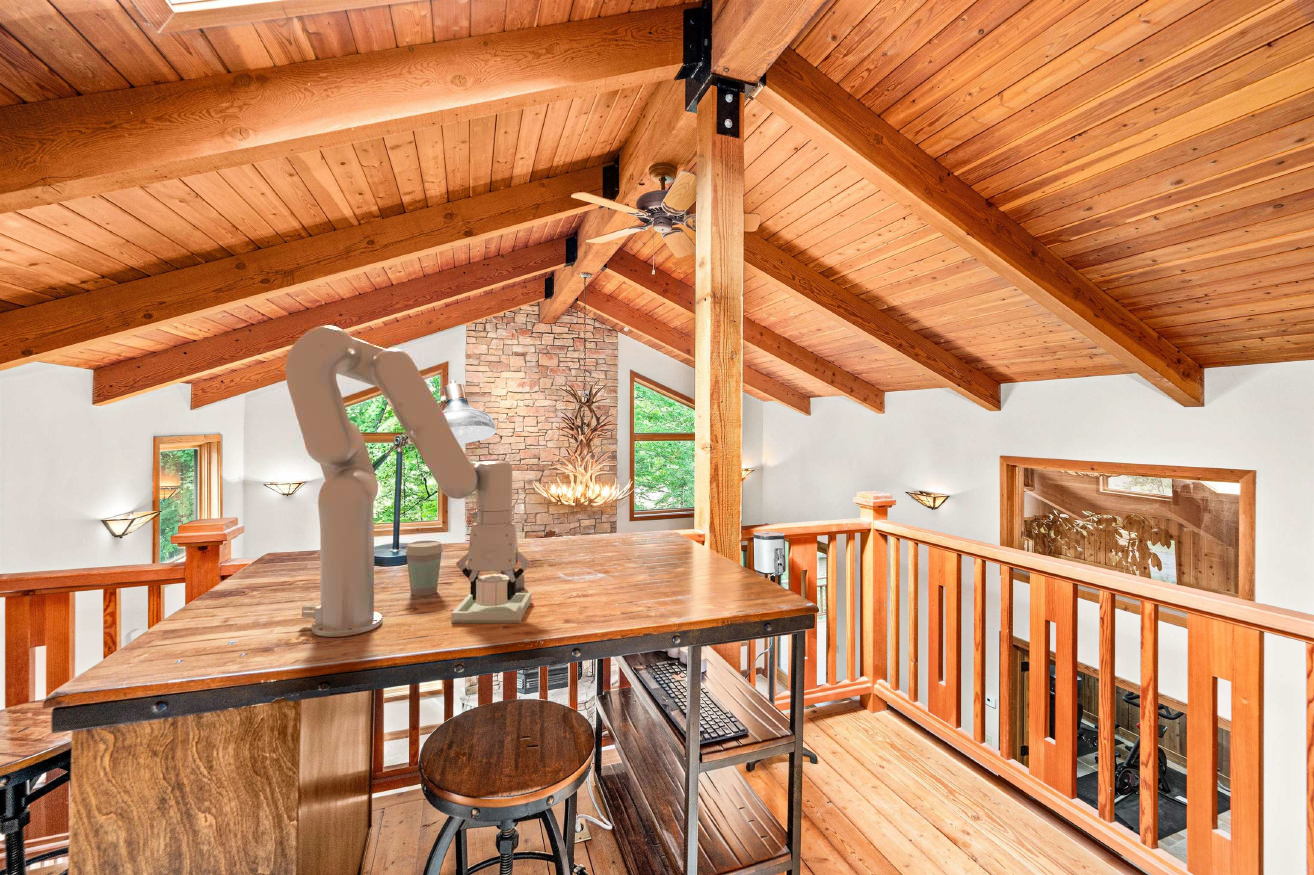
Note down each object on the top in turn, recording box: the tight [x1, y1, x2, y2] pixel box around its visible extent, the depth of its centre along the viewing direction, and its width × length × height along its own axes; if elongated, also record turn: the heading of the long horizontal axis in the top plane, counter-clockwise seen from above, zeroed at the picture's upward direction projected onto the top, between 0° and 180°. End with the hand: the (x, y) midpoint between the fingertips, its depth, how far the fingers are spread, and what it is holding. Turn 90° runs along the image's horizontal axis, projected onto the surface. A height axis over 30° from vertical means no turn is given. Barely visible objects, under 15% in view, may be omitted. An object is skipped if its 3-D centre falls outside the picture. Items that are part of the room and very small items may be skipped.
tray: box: [450, 592, 532, 624], centre depth 127 cm, size 14×14×2 cm
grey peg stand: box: [497, 571, 525, 593], centre depth 143 cm, size 9×9×8 cm
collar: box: [476, 573, 510, 606], centre depth 126 cm, size 7×7×5 cm
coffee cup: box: [404, 539, 444, 597], centre depth 140 cm, size 8×8×12 cm
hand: (493, 597), depth 127 cm, fingers closed on collar, 6 cm apart
